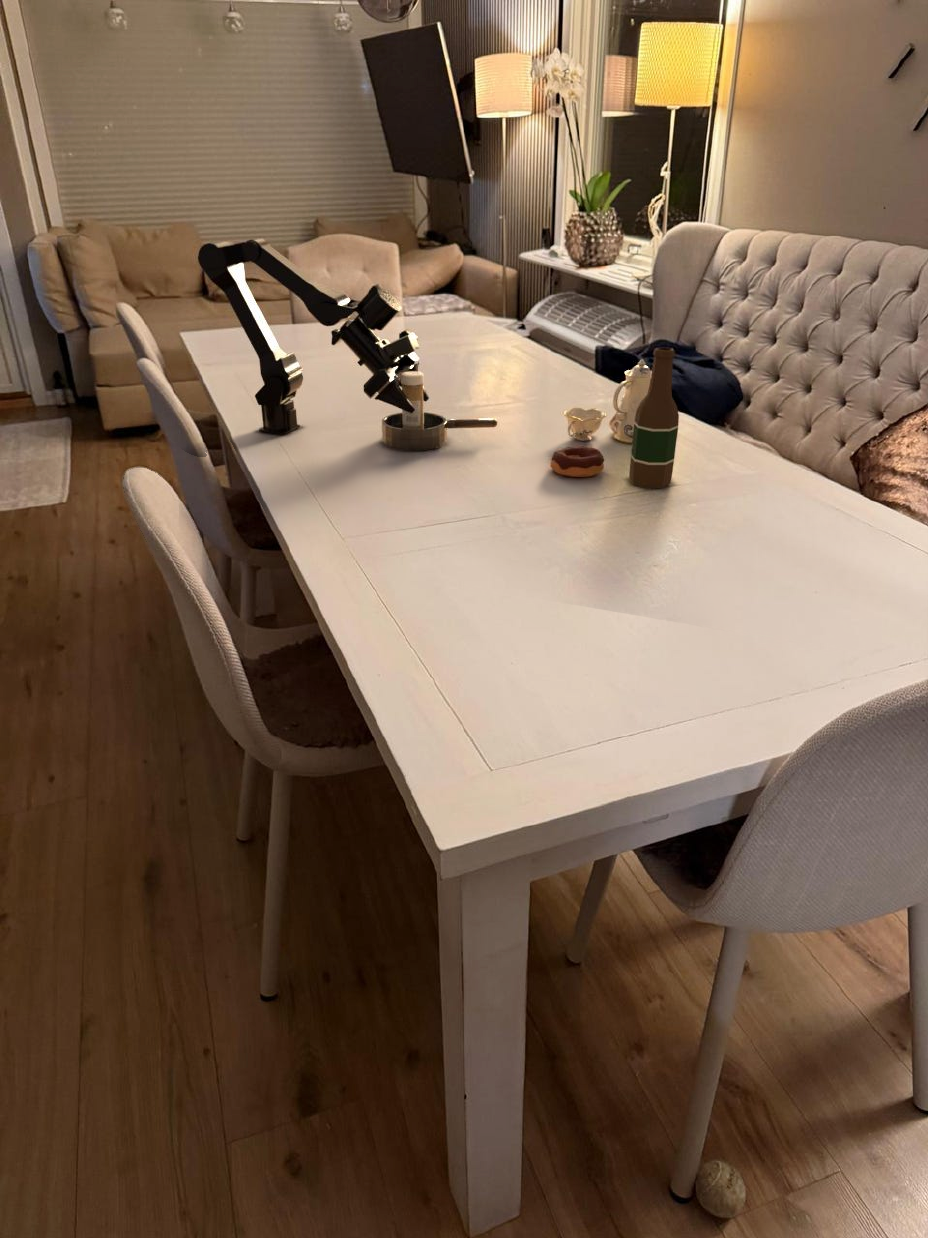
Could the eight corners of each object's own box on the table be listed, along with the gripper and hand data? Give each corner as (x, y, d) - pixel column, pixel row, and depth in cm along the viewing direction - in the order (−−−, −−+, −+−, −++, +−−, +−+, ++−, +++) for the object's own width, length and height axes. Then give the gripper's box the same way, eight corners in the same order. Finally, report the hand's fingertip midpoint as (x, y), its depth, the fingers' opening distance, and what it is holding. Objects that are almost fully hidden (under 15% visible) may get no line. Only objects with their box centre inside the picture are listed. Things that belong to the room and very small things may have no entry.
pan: (383, 452, 179) (382, 430, 177) (381, 433, 190) (380, 412, 188) (449, 450, 180) (449, 428, 178) (443, 431, 192) (443, 410, 189)
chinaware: (632, 421, 205) (633, 346, 198) (695, 429, 194) (698, 350, 187) (552, 447, 188) (550, 365, 181) (617, 457, 177) (617, 371, 170)
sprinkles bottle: (428, 437, 186) (427, 371, 180) (418, 443, 182) (417, 376, 176) (408, 434, 187) (406, 369, 181) (398, 440, 184) (396, 374, 177)
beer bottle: (673, 477, 167) (690, 345, 156) (668, 491, 160) (685, 354, 149) (632, 472, 169) (645, 342, 158) (624, 486, 163) (638, 351, 151)
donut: (543, 476, 167) (544, 455, 165) (557, 460, 175) (558, 440, 173) (597, 482, 164) (598, 461, 162) (608, 466, 172) (610, 446, 170)
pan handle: (445, 429, 184) (445, 420, 183) (444, 427, 185) (444, 418, 184) (497, 428, 185) (498, 419, 184) (496, 425, 186) (496, 417, 186)
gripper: (376, 326, 167) (433, 390, 169) (408, 310, 182) (460, 369, 185) (339, 366, 172) (395, 428, 175) (373, 347, 188) (424, 403, 191)
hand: (420, 405), depth 181 cm, fingers open, 9 cm apart
